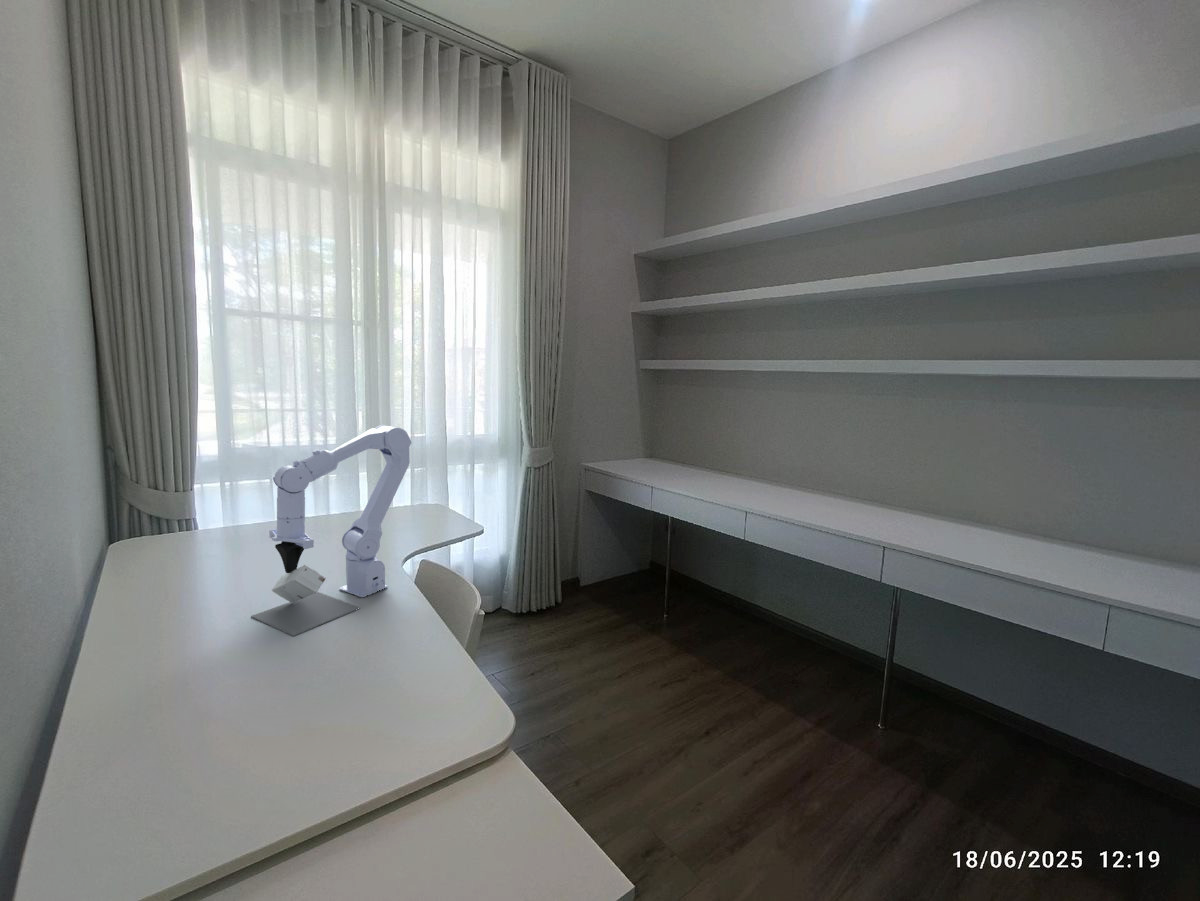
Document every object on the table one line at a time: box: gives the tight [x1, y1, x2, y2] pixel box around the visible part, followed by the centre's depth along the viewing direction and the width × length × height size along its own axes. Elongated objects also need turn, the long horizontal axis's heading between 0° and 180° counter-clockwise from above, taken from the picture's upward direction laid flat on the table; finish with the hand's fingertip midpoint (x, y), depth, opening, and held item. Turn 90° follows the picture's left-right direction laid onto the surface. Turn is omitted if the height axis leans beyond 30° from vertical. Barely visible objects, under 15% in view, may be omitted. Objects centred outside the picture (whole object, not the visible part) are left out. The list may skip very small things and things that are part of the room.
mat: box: [250, 591, 360, 637], centre depth 120 cm, size 16×16×1 cm
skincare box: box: [271, 564, 327, 603], centre depth 121 cm, size 6×4×12 cm
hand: (290, 572), depth 122 cm, fingers closed, pressing on skincare box
